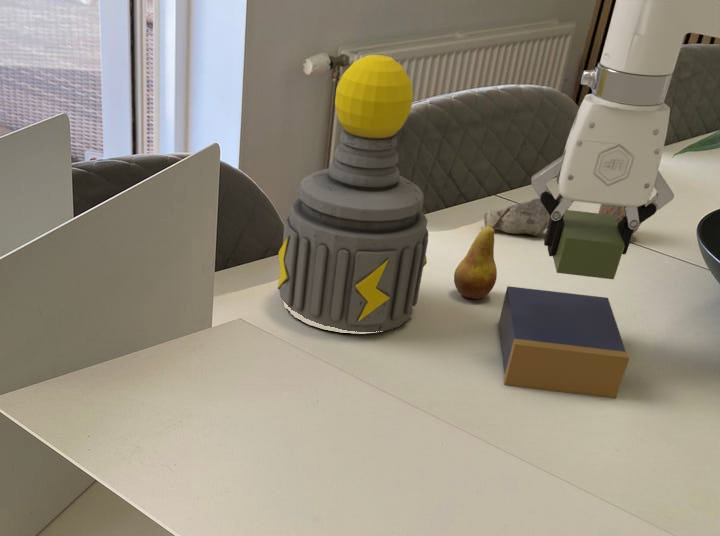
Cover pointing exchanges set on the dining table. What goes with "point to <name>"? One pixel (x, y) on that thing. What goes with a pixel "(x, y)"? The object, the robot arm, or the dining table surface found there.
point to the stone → (520, 218)
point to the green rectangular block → (589, 245)
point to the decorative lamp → (358, 214)
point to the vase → (614, 213)
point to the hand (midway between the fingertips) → (582, 254)
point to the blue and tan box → (561, 342)
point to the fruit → (478, 266)
